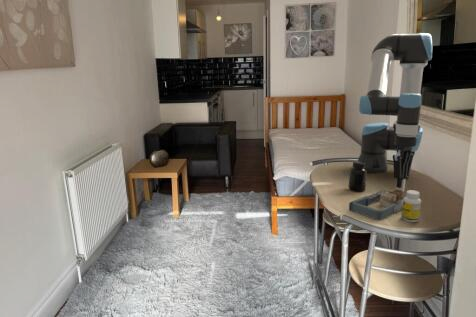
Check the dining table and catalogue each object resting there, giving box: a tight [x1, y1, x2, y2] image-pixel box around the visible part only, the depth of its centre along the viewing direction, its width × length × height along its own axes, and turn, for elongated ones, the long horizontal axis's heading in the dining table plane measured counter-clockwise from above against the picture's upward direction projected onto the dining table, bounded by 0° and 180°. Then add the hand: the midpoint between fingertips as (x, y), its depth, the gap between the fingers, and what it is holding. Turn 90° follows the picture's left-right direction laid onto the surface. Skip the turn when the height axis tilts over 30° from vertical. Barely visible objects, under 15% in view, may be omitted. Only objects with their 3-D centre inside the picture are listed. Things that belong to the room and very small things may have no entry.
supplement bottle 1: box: [348, 160, 368, 193], centre depth 150 cm, size 7×7×12 cm
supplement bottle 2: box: [401, 189, 422, 223], centre depth 121 cm, size 5×5×10 cm
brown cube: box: [388, 188, 405, 202], centre depth 139 cm, size 4×4×4 cm
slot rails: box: [365, 189, 404, 215], centre depth 135 cm, size 14×12×2 cm
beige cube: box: [379, 191, 396, 207], centre depth 135 cm, size 4×4×4 cm
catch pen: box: [348, 195, 397, 221], centre depth 129 cm, size 11×12×3 cm
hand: (399, 194), depth 140 cm, fingers closed
